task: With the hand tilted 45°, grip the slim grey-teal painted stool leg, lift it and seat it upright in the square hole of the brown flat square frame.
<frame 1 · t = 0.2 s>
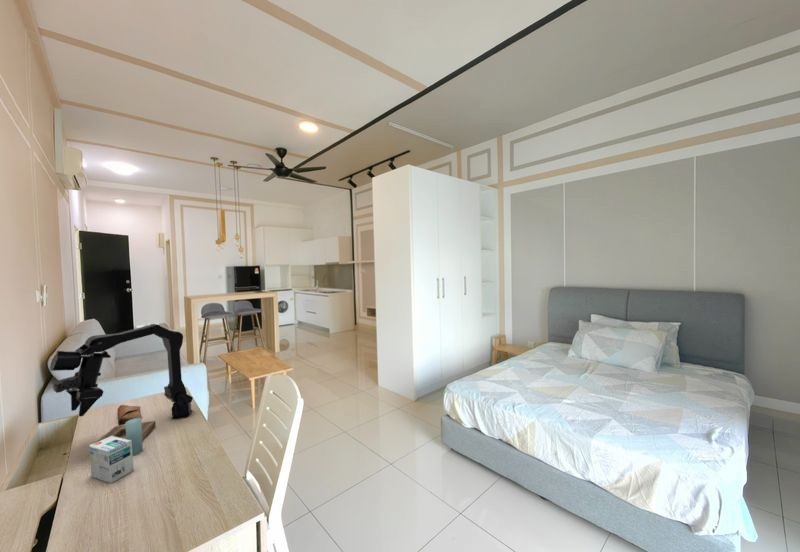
hand: (77, 413, 114), 15 cm above the table, tool pointing down, fingers open, 9 cm apart
light bulb box: (112, 474, 103), on the table
stool leg: (135, 452, 115), on the table
brown flat square frame: (126, 439, 124), on the table
sunglasses case: (130, 417, 144), on the table
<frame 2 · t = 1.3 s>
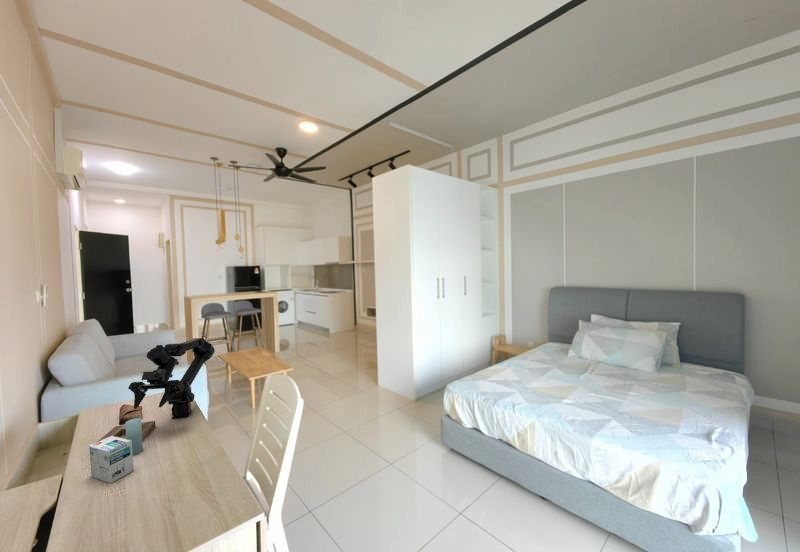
hand: (147, 407, 122), 13 cm above the table, tool tilted 45°, fingers open, 9 cm apart
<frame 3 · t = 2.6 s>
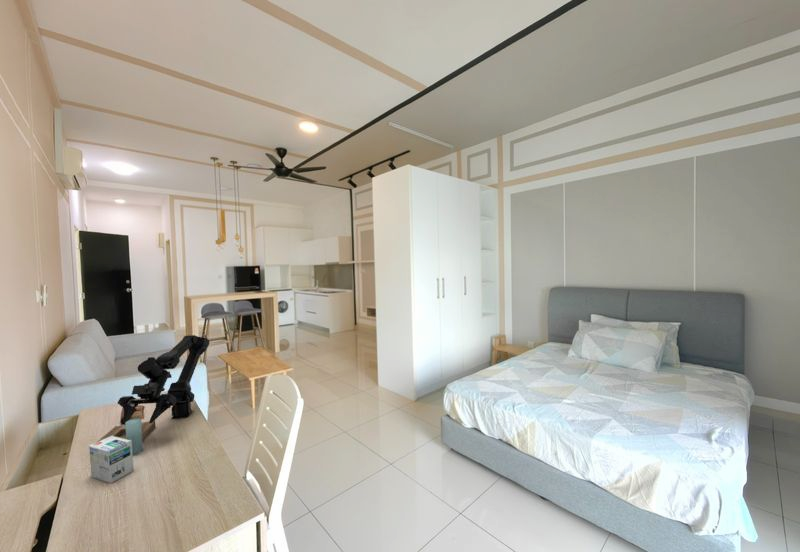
hand: (137, 423, 116), 10 cm above the table, tool tilted 45°, fingers open, 9 cm apart
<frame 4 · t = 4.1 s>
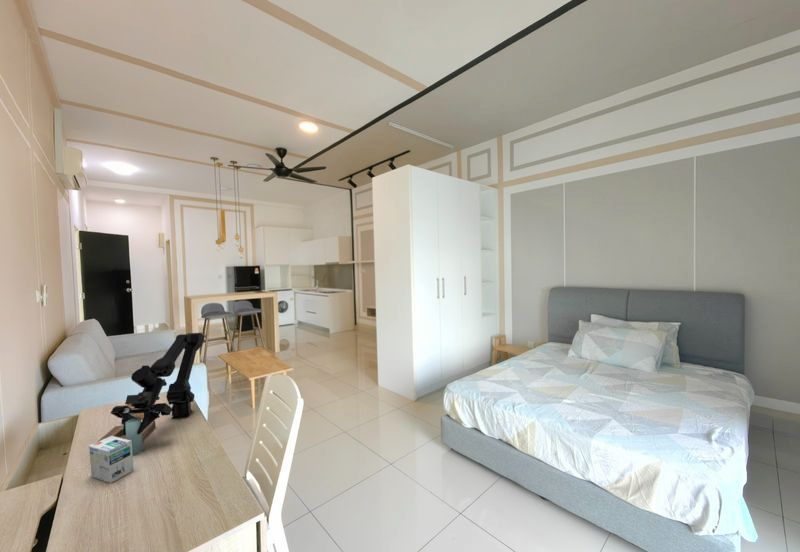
hand: (131, 434, 113), 8 cm above the table, tool tilted 45°, fingers closed on stool leg, 4 cm apart
stool leg: (135, 452, 115), on the table, touching gripper
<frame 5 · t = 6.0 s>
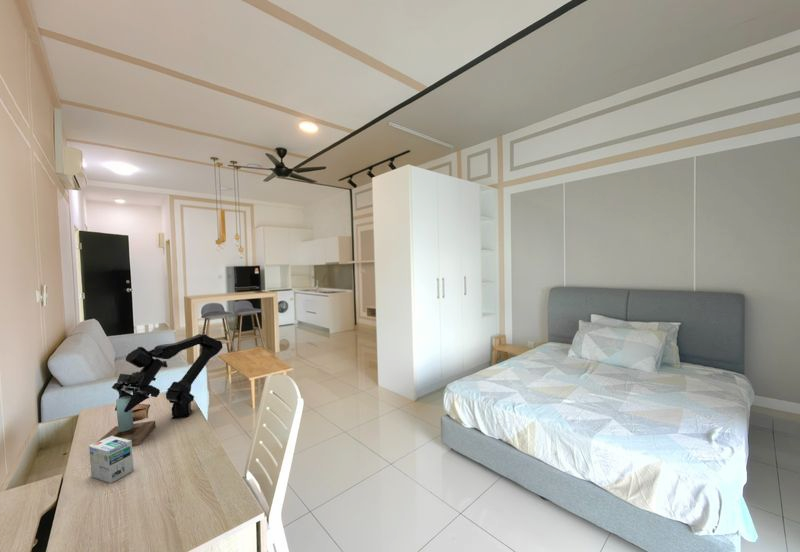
hand: (120, 411, 119), 13 cm above the table, tool tilted 45°, fingers closed on stool leg, 4 cm apart
stool leg: (125, 428, 121), point 6 cm above the table, touching gripper
when the fingers open (9 cm above the table, at t = 7.8 s): stool leg stays where it is, resting on brown flat square frame.
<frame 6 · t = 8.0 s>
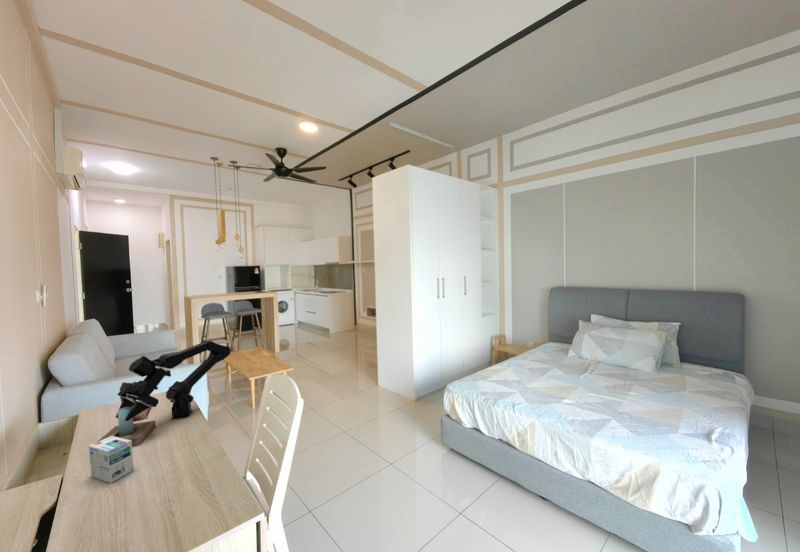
hand: (121, 419, 122), 9 cm above the table, tool tilted 45°, fingers open, 6 cm apart
stool leg: (126, 438, 124), resting on brown flat square frame
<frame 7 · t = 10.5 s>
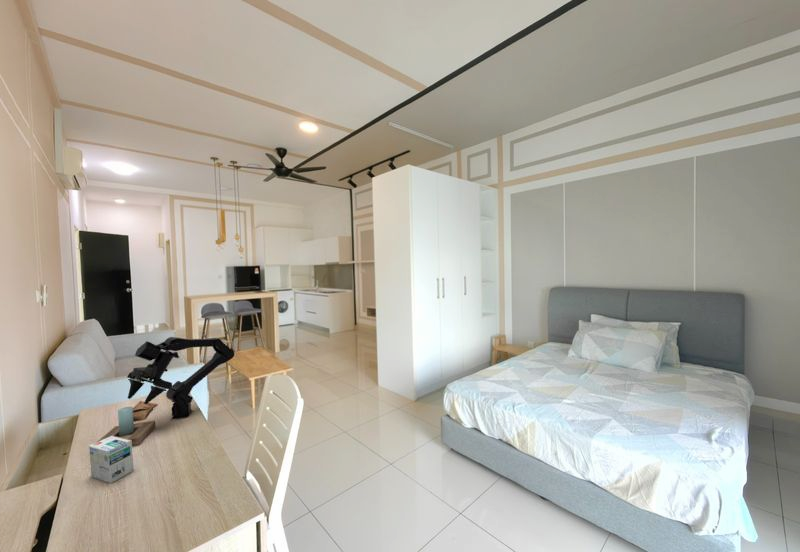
hand: (136, 401, 128), 13 cm above the table, tool tilted 35°, fingers open, 9 cm apart
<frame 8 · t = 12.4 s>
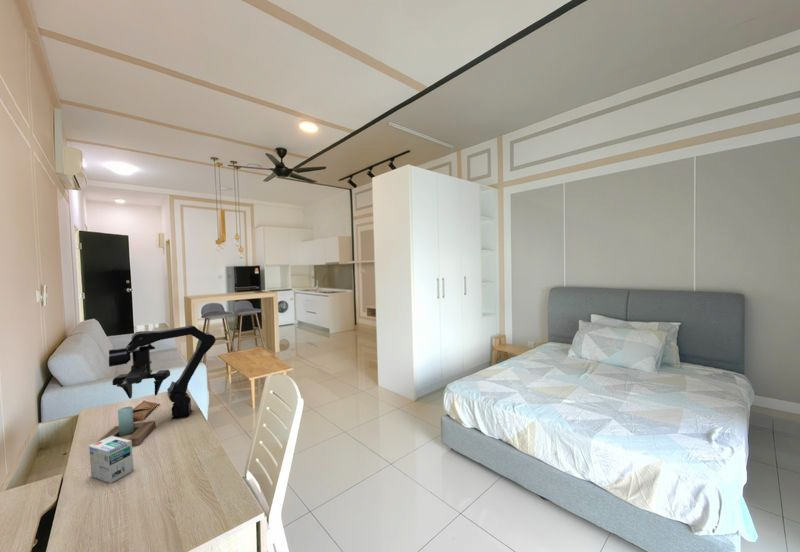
hand: (143, 396, 133), 13 cm above the table, tool pointing down, fingers open, 9 cm apart
at the end: stool leg 0.1 cm off-centre on the brown flat square frame, point 0.3 cm above the brown flat square frame's base; stool leg tilted 0°; the gripper is holding nothing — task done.
